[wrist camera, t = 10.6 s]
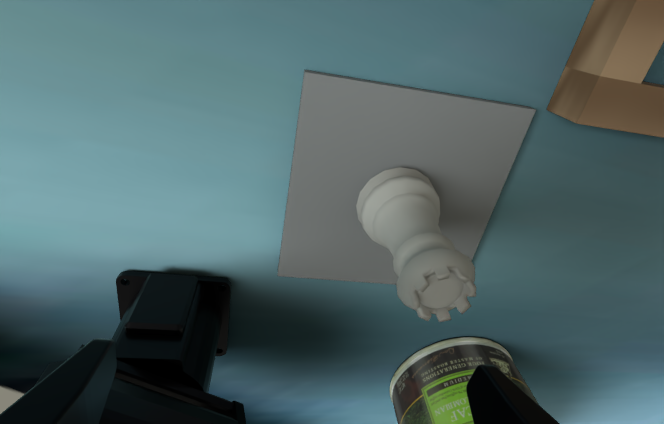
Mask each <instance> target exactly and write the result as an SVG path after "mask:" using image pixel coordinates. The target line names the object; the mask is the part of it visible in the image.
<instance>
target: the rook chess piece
mask: <svg viewBox="0 0 664 424" xmlns="http://www.w3.org/2000/svg"><path fill="white" fill-rule="evenodd" d="M356 208H357V214H358V220H359V221H360V222H361V224H362V228H363V229H364V230H365V232H366V233H367V234H368V236H369V237H370V238H371V239H372V240H373V241H374V242H376V243H378V244H380V245H382V246H384V247H386V248H388V249H389V250H390V252H391V253H392V255H393V257H394V259H393V266H394V271H395V273H396V274H397V276H398V277H399V278H398V281H397V284H396V286H397V294H398V297H399V298H400V299H401V301H402V302H403V303H404V305H406V306H408V307H410V308H412V309H414V310H416V311H417V314H418V316H419V317H420V318H422V319H424V320H426V321H429V319H430V318H431V314H436V316H437V318H438V321H439V322H443V321H448V320H451V317H450V314H449V312H448V311H449V310H451V309H453V308H455V307H457V309H458V311H460V312H461V313H462V314H463V313H464V312H465V311H466V310H467V309H468V308H470V307H471V305H470V303H469V301H468V300H467V296H469V297H476V286H475V284H474V281H475V267H474V265H473V263H472V262H471V260H470V258H469V257H468V256H466V255H464V254H463V253H461V252H459V251H457V250H455V247H454V245H453V243H452V242H451V240H450V239H448V238H447V237H445V236H444V235H442V234H441V231H440V228H439V226H438V223H439V217H440V201H439V197H438V195H437V193H436V191H435V189H434V187H433V186H432V184H431V182H430V180H429V179H428V177H426V176H425V175H423V174H422V173H420V172H419V171H417V170H414V169H408V168H402V167H399V168H394V169H389V170H385V171H383V172H381V173H379V174H378V175H376V176H375V177H373V178H371V179H370V180H369V181H368V182H367V184H366V185H365V186H364V188H363V189H362V190H361V191H360V194H359V198H358V201H357V205H356Z"/></svg>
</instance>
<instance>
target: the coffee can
mask: <svg viewBox="0 0 664 424" xmlns="http://www.w3.org/2000/svg"><path fill="white" fill-rule="evenodd" d="M480 364H485V365H493V366H495V367H497V368H498V369H499V370H500V371H501V372H502V373H504V374H505V375H506V376H507V377H508V378H509V379H510V380H511V381H512V382H514V383H515V384H516V385H517V386H518V387H519V388H520V389H521V390H522V391H524V392H525V393H526V394H527V395H528V396H529V397H530V398H531V399H533V400H534V401H535V402H536V403H537V404H538V402H537V401H536V399H535V397H534V396H533V394H532V393H531V391H530V389H529V387H528V386H527V384H526V383H525V380H524V379H523V378H522V376H521V374H520V372H519V371H518V369H517V368H516V366H515V364H514V363H513V360H512V357H511V356H510V354H509V353H508V351H507V350H506V349H505V348H503V347H502V346H501V345H499V344H498V343H495V342H493V341H491V340H488V339H484V338H477V337H460V338H453V339H447V340H443V341H440V342H437V343H435V344H432V345H430V346H427V347H425V348H423V349H421V350H419V351H418V352H416V353H415V354H413V355H412V356H410V357H409V358H408V359H407V360H406V361H405V362H403V363H402V365H401V366H400V367H399V368H398V369H397V371H396V372H395V374H394V376H393V378H392V380H391V384H390V397H391V400H392V402H393V405H394V409H395V413H396V417H397V421H398V424H474V422H473V418H472V414H471V410H470V405H469V401H468V397H467V392H466V386H467V383H468V381H469V379H470V378H471V376H472V374H473V372H474V371H475V369H476V367H477V366H478V365H480ZM538 405H539V404H538Z"/></svg>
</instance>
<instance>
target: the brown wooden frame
mask: <svg viewBox="0 0 664 424" xmlns="http://www.w3.org/2000/svg"><path fill="white" fill-rule="evenodd" d="M663 42H664V0H594V2H593V5H592V7H591V9H590V12H589V14H588V16H587V18H586V21H585V23H584V25H583V27H582V30H581V32H580V34H579V37H578V39H577V41H576V43H575V46H574V48H573V50H572V53H571V55H570V57H569V59H568V62H567V64H566V66H565V68H564V71H563V73H562V75H561V78H560V80H559V82H558V84H557V87H556V89H555V91H554V94H553V96H552V98H551V100H550V103H549V105H548V107H547V109H546V110H548V111H550V112H553V113H555V114H557V115H559V116H561V117H564V118H566V119H568V120H570V121H572V122H575V123H577V124H583V125H589V126H595V127H601V128H608V129H614V130H620V131H626V132H633V133H639V134H645V135H651V136H658V137H664V85H660V84H654V83H649V82H644V81H643V79H644V77H645V75H646V73H647V72H648V70H649V68H650V66H651V64H652V62H653V60H654V59H655V57H656V55H657V53H658V51H659V49H660V48H661V46H662V44H663Z"/></svg>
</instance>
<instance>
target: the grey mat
mask: <svg viewBox="0 0 664 424" xmlns="http://www.w3.org/2000/svg"><path fill="white" fill-rule="evenodd" d="M535 111H536V110H535V109H533V108H531V107H527V106H521V105H515V104H509V103H503V102H497V101H491V100H485V99H479V98H473V97H467V96H461V95H455V94H449V93H442V92H436V91H430V90H424V89H418V88H412V87H406V86H400V85H394V84H388V83H382V82H376V81H370V80H364V79H358V78H352V77H346V76H340V75H333V74H327V73H321V72H315V71H309V70H304V78H303V85H302V93H301V100H300V108H299V115H298V123H297V130H296V138H295V145H294V153H293V160H292V168H291V175H290V183H289V190H288V198H287V205H286V213H285V220H284V228H283V235H282V243H281V250H280V258H279V265H278V276H283V277H297V278H311V279H325V280H339V281H353V282H367V283H381V284H395V285H396V284H397V281H398V278H399V277H398V276H397V274H396V273H395V271H394V266H393V259H394V257H393V255H392V253H391V252H390V250H389V249H388V248H386V247H384V246H382V245H380V244H378V243H376V242H374V241H373V240H372V239H371V238H370V237H369V236H368V234H367V233H366V232H365V230H364V229H363V228H362V224H361V222H360V221H359V220H358V214H357V208H356V205H357V201H358V198H359V194H360V191H361V190H362V189H363V188H364V186H365V185H366V184H367V182H368V181H369V180H370V179H371V178H373V177H375V176H376V175H378V174H379V173H381V172H383V171H385V170H389V169H394V168H399V167H402V168H408V169H414V170H417V171H419V172H420V173H422V174H423V175H425V176H426V177H428V179H429V180H430V182H431V184H432V186H433V187H434V189H435V191H436V193H437V195H438V197H439V201H440V217H439V223H438V226H439V228H440V231H441V234H442V235H444V236H445V237H447V238H448V239H450V240H451V242H452V243H453V245H454V247H455V250H457V251H459V252H461V253H463V254H464V255H466V256H468V257H469V258H470V260H471V261H472V259H473V256H474V254H475V252H476V249H477V247H478V245H479V242H480V240H481V238H482V235H483V233H484V231H485V228H486V226H487V224H488V221H489V219H490V217H491V214H492V212H493V210H494V207H495V205H496V203H497V200H498V198H499V196H500V193H501V191H502V188H503V186H504V184H505V181H506V179H507V177H508V174H509V172H510V170H511V167H512V165H513V163H514V160H515V158H516V156H517V153H518V151H519V149H520V146H521V144H522V142H523V139H524V137H525V135H526V132H527V130H528V128H529V125H530V123H531V120H532V118H533V116H534V113H535Z"/></svg>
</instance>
